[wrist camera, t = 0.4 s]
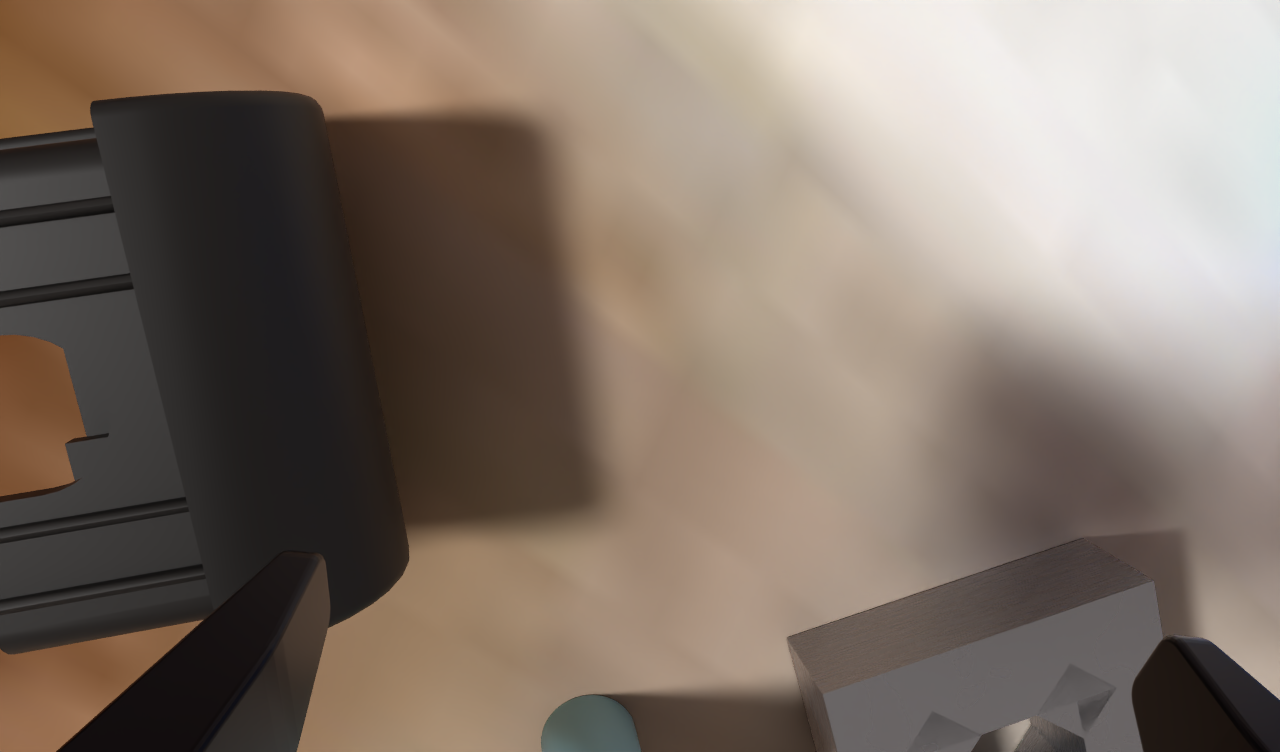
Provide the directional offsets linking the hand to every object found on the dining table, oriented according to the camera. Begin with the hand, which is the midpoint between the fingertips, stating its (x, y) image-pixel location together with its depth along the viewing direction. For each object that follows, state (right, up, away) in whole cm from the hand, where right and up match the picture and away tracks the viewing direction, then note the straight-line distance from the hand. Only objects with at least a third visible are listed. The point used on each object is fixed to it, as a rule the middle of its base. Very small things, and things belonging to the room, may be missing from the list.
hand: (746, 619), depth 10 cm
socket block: (+8, -8, +18) cm, 21 cm away
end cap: (-11, +3, +13) cm, 17 cm away
